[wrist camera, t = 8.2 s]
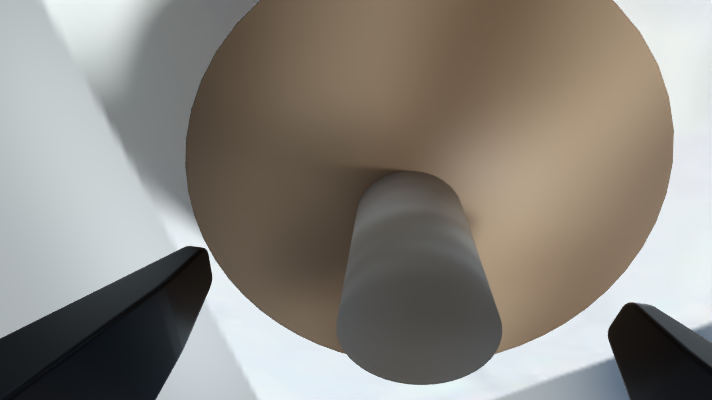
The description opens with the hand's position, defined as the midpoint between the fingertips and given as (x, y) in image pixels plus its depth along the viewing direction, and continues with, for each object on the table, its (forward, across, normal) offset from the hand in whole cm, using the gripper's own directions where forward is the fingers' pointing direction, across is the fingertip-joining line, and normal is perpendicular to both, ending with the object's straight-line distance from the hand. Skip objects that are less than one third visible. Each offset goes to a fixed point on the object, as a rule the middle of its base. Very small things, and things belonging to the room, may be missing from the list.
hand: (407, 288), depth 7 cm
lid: (+4, 0, 0) cm, 4 cm away
